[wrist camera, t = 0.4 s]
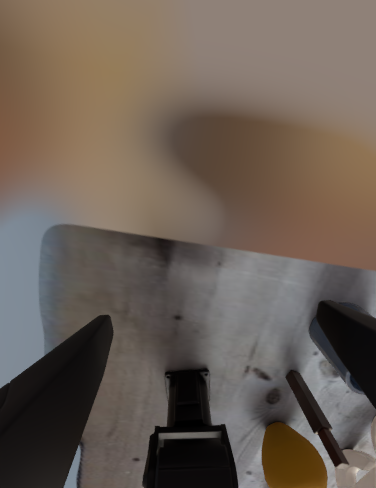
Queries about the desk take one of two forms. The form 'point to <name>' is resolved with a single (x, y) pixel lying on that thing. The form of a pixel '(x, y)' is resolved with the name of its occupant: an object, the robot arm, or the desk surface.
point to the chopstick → (316, 418)
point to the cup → (330, 354)
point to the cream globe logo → (358, 466)
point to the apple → (291, 459)
